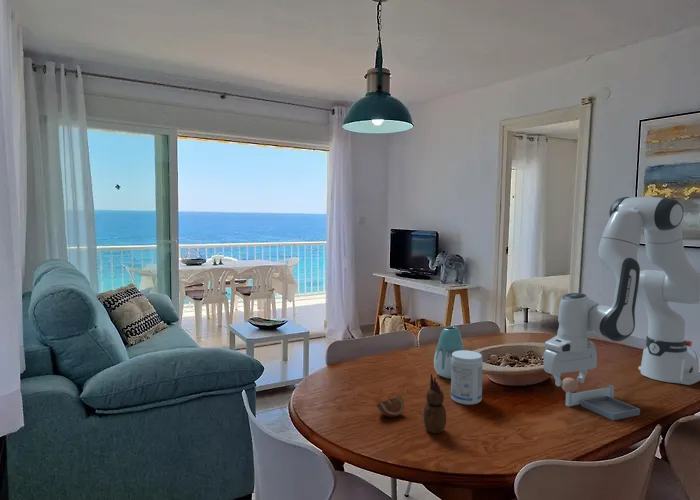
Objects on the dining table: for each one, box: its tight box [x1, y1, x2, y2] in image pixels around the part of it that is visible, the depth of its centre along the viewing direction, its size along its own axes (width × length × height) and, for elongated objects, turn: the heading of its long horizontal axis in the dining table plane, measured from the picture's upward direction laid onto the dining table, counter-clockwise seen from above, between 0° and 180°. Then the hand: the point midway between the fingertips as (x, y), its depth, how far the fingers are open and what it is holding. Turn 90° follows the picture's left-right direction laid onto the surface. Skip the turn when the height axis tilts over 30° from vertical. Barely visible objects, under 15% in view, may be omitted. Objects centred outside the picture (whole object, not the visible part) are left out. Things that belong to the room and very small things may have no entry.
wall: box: [565, 384, 615, 407], centre depth 145 cm, size 19×1×4 cm, turn 112°
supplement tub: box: [450, 349, 483, 406], centre depth 146 cm, size 10×10×15 cm
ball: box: [561, 377, 579, 393], centre depth 153 cm, size 5×5×5 cm
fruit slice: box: [376, 395, 405, 418], centre depth 134 cm, size 8×7×5 cm
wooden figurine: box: [422, 373, 447, 434], centre depth 124 cm, size 7×6×15 cm
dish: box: [580, 396, 641, 421], centre depth 139 cm, size 11×11×2 cm
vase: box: [433, 326, 465, 380], centre depth 168 cm, size 12×12×18 cm
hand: (569, 383), depth 152 cm, fingers open, 8 cm apart
